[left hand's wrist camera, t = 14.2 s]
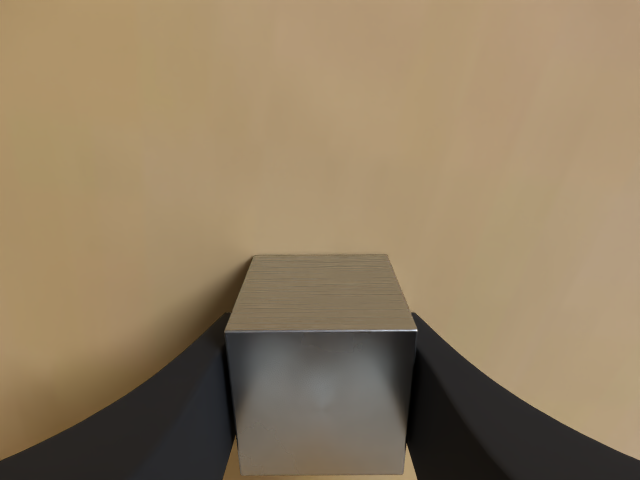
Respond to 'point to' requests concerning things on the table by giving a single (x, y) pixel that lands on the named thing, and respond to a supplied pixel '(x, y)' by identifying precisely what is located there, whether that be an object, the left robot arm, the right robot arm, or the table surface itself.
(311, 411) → the grey cube
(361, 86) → the table surface
